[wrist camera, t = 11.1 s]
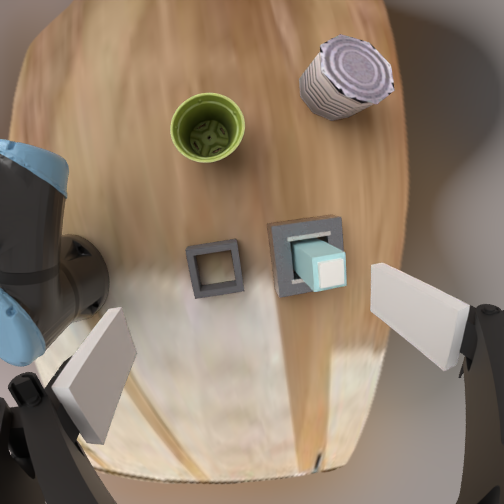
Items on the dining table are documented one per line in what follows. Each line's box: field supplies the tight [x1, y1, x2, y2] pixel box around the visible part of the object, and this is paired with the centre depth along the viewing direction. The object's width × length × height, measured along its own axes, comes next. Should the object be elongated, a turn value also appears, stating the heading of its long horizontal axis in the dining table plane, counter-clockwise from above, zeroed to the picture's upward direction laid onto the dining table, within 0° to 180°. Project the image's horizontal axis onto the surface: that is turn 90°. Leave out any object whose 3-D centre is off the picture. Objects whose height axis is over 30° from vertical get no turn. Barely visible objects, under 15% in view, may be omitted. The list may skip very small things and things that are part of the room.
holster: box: [185, 239, 244, 299], centre depth 43 cm, size 8×8×3 cm
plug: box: [290, 237, 347, 292], centre depth 40 cm, size 4×4×13 cm
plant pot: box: [170, 93, 245, 163], centre depth 36 cm, size 9×9×9 cm
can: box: [299, 34, 394, 121], centre depth 35 cm, size 11×11×12 cm
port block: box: [267, 215, 344, 297], centre depth 44 cm, size 11×11×4 cm
